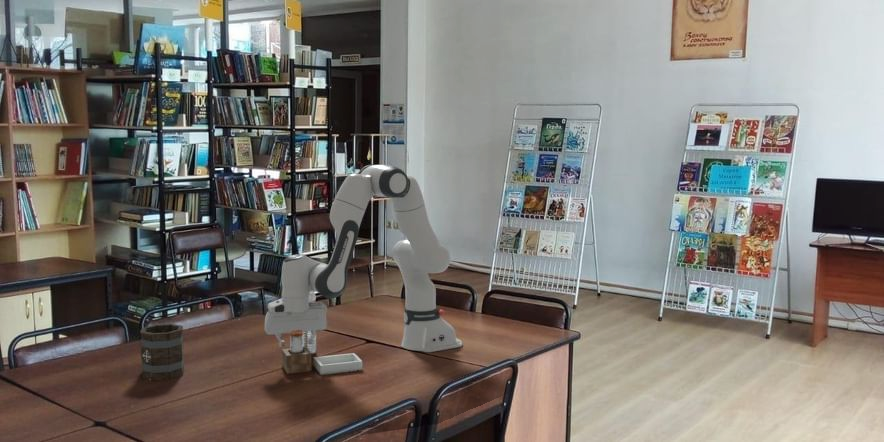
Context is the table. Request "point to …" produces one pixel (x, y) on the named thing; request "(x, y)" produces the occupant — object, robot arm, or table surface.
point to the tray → (337, 363)
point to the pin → (296, 342)
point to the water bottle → (308, 333)
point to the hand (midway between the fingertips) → (296, 344)
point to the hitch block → (296, 361)
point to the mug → (162, 351)
